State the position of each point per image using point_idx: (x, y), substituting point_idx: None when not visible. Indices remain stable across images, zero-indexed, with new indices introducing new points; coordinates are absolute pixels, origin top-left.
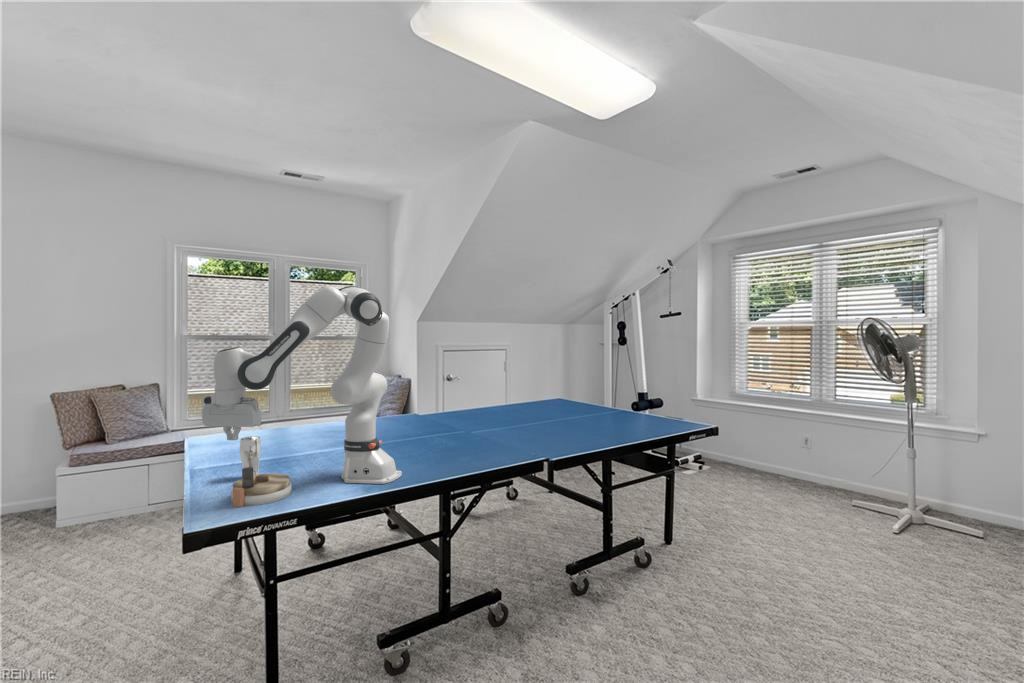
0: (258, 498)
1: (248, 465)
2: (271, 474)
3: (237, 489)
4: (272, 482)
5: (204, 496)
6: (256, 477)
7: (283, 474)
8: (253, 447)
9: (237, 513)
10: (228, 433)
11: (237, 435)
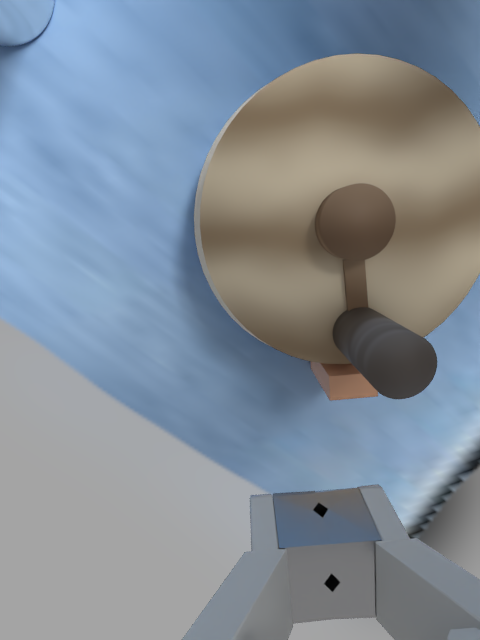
0: None
1: None
2: (304, 91)
3: (359, 396)
4: (427, 222)
5: (82, 327)
6: (341, 250)
7: (379, 59)
8: None
9: (390, 413)
10: (282, 635)
11: (402, 539)
